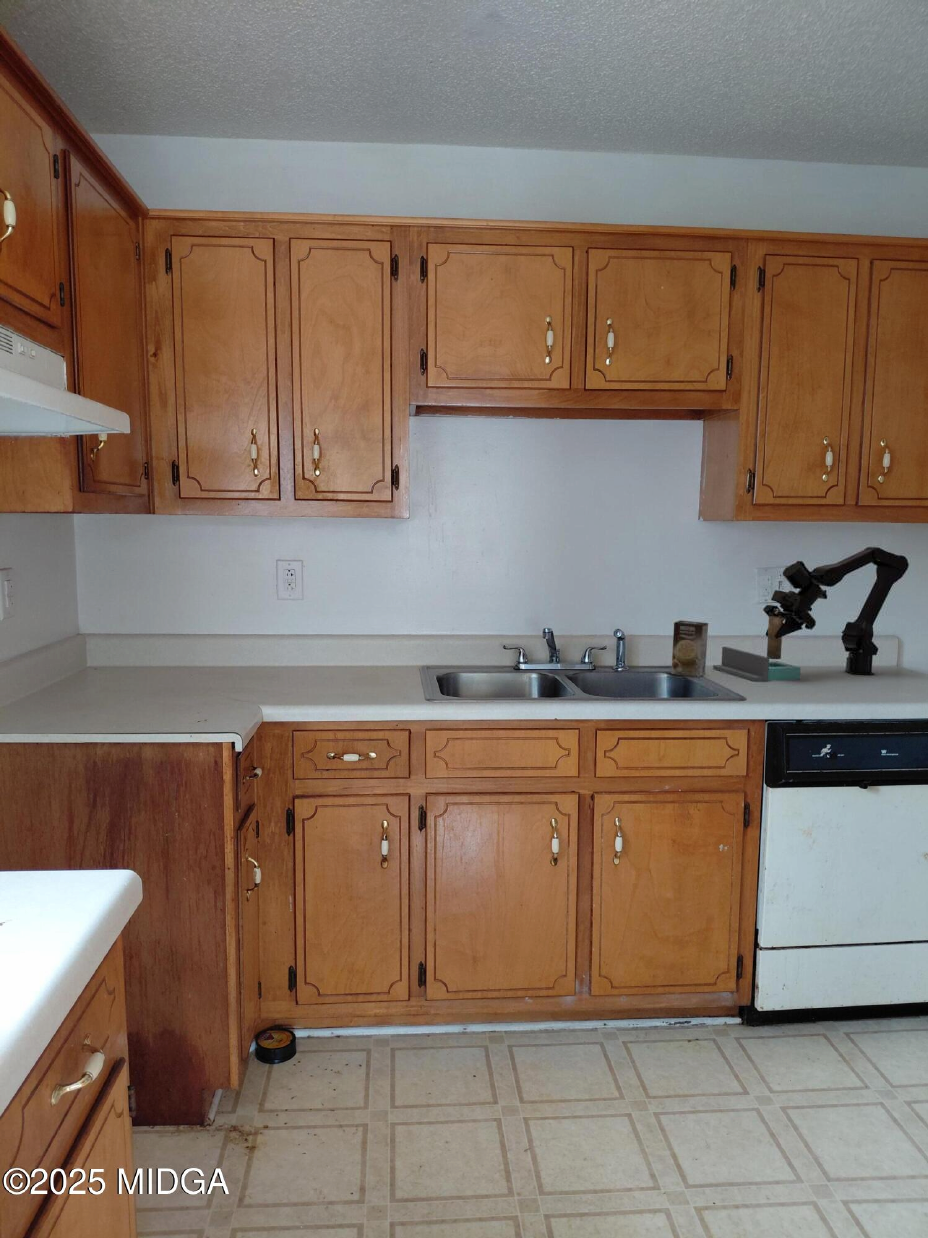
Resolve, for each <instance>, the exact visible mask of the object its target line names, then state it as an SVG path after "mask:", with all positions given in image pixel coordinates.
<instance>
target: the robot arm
mask: <svg viewBox="0 0 928 1238" xmlns="http://www.w3.org/2000/svg"><path fill="white" fill-rule="evenodd" d="M869 564H872V565H874V566H876V568H875V574H876V579H875V581H874V583H873V586H872V587H871V589H870V591H869V594H868V596H867V598H866V600H865V602H864V604H863V606H862V608H861V610H860V611H859V614H858V616H857V618H856V619H855V620H854V621H847V622H846V624H845V626H844V629H843V630H842V631H841V634H842V635H841V642H842V644H843V648H844V651H845V652H846V653H848V654H847V655H848V656H847V657H846V663H845V670H844V671H846V672H847V673H850V674H852V675H875V673H874V672H873V671H872V670H873V656H877V654H878V651H879V647H878V645H876V644H875V642H873V639H874V624H875V622H876V619H877V618H878V616H879V614H880V612H881V610H882V608H883V605H884V603H885V602H886V600H887V598H888V595H889V594H890V592H891V590H892V587H893V586H894V584H895V583H897V582H898V581H899V580H900V579H902V578H903V577H904V575H905V574H906V572H908V569H909V566H910V565H909V564H910V563H909V561H908V558H907V557H906V556H904V555H902V554H899V555H898V554H895V553H893V552H889V551H888V550H885V549H882V548H881V547H878V546H868V547H865V548H864V549H862V550H860V551H859V552H856V553H854V554H853V555H850V556H848V557H846V558H844V559H842V560H839V561H838V562H836V563H835V562H834V563H829V564H823V565H821V566H817V567H814V568H813V569H812V570H811V571H810V570H809V568H807V567H806V565H805V563H804V561H802V560H797V561H796V562H794V563H792V564H790V565H788V566H787V567H785V568H784V570H783V571H782V576H783V577H784V578H785V579H786V581H787V582H788V583H789V584H790V586H791V587H792V588H793V589H795V590H797V589H798V591H797V592H796V591H794V590H788V591H784V590H778V589H775V590H774V592H773V593H772V596H771V599H770V600H771V601H773V602H776V603H777V604H779V606H777V605H774V604H766V606H765V607H763V609H762V610H763V612H764V613H765V614H766V616H768V618H769V617H770V616H777V617H783V625H782V626H781V627H780V629H779V630H778V631H777V633H776V634H775V636H774V637H775V638H776V639H778V638H780V637H782V638H783V637H784V636H787V635H789V634H793V633H795V632H798V631H802V630H803V626H804V628H805V629H806V630H811V631H812V630H813V629H814V628H815V627H816V623H817V620H816V619H815V618H814V617H813V616H812V614H811V613H810V612H812V611H813V608H812V606H813V605H814V604H815V603H816V602H817V600H819V599H820V600H821V599H822V600H827V599H828V594H827V592H828V591H827V590H826V589H823V588H822V587H826V588H827V587H828V588H832V587H835V586H836V585H837V584H838V583H841V581H843V579H844V578H845V576H847V575H849V574H851V573H852V572H854V571H857V570H859V569H862V568H863V567H865V566H867V565H869ZM780 608H781V609H780ZM766 629H767V630H766V632H765V636H766V637H767V638H768V628H766Z"/></svg>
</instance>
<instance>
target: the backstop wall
mask: <svg viewBox="0 0 928 1238" xmlns="http://www.w3.org/2000/svg"><path fill="white" fill-rule="evenodd" d="M721 650H722V651H721V664H713V665H712V669H713V670H715V671H718V670H719V671H718V672H721V671H722V673H725V674H728V675H732V676H735V677H737V678H738V677H739V678H742V679H745V680H747V681H751V682H755V681H756V682H757V681H760V682H769V681H768V674H769V662H770V659H769V657H767V656H765V655H761V654H758V653H753V652H748V651H744V650H740V649H737V648H734V647H729V646H722V649H721ZM756 682H755V683H756Z"/></svg>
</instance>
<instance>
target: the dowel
mask: <svg viewBox="0 0 928 1238" xmlns="http://www.w3.org/2000/svg"><path fill="white" fill-rule="evenodd" d="M783 623H784V621H783V617H777V616H770V617H768V624H767V625H768V626H767V629H768V637H767V647H766V657H769V660H781V658H782V644H783V637H780V638H778V639H776V638H775V637H774V636H775V634H776V633H777V631H778V630H779V629H780V627H781V626H782V625H783Z"/></svg>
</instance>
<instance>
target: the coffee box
mask: <svg viewBox="0 0 928 1238" xmlns="http://www.w3.org/2000/svg"><path fill="white" fill-rule="evenodd" d="M708 630H709V623H708V622H702V621H701V622H700V621H689V620H681V619H680V620H678V621H675V622H674V623H673V637H672V656H671V672H670V674H671V675H678V676H687V677H694V678H695V677H696V678H700V676H701V677H703V676H704V675H706V664H707V663H706V662H707V649H708V648H707V646H708ZM702 675H703V676H702Z"/></svg>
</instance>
